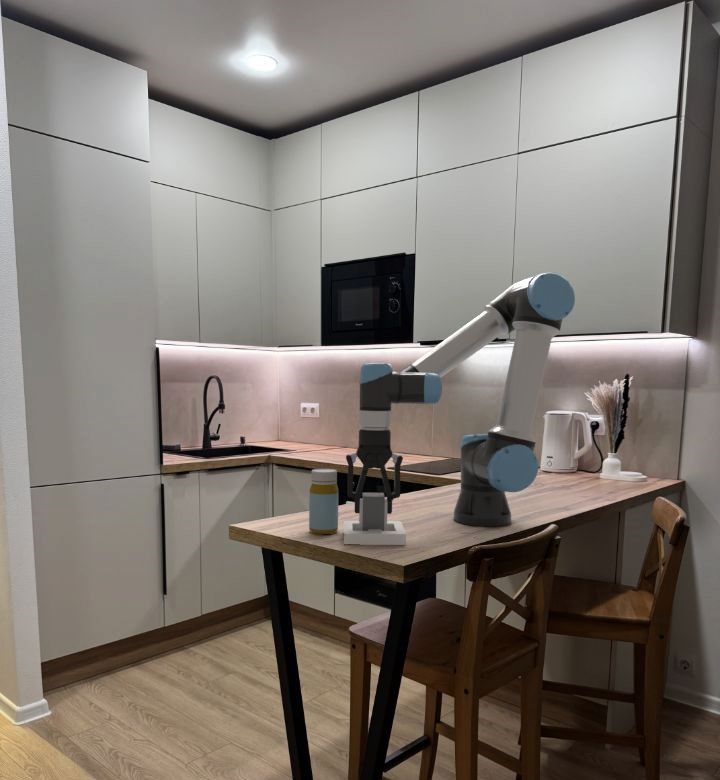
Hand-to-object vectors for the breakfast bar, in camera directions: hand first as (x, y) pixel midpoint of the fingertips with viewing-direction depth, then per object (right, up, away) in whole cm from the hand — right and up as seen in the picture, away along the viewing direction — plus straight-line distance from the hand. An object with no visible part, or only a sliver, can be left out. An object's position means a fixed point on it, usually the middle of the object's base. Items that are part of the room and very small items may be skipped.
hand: (372, 527), depth 146 cm
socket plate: (0, -3, 0) cm, 3 cm away
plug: (0, 0, 0) cm, 0 cm away
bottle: (-12, -3, +5) cm, 13 cm away
